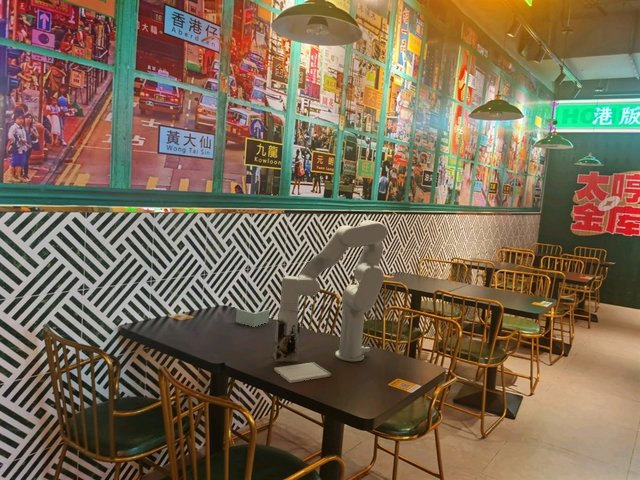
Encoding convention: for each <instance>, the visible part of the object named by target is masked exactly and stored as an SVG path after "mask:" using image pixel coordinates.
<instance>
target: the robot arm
mask: <svg viewBox="0 0 640 480" xmlns="http://www.w3.org/2000/svg"><path fill="white" fill-rule="evenodd" d="M387 236H388V228H387V227H386V225H385V224H384V223H382V222H379V221H376V220H370V219H366V220H363V221H362V222H360V224H359V225H358V226H351V225H350V226H349V225H341V226H339V227H338V228H337V229H336V230H335V231H334V232H333V234H332V235H331V237H330V238H329V239H328V241H327V242H326V244H325V245H324V246H323V248H322V249H321V250H320V252H319V253H317V254H316V255H314V257H313V258H312V259H310V261H309V262H307V264H306V265H305V266H304V267H303V268H302V270H301V272H299V274H298V276H295V275H294V276H293V275H285V276H283V277H282V280H281V289H280V301H279V302H280V303H279V311H278V314H277V320H279V321H282V322H283V323H285V330H284V335H286V336H288V339H289V342H288V347H287V351H288V352H290V351H294V350H295V342H296V340H297V337H298V332H297V329H298V322H299V315H298V314H299V313H298V311H299V306H300V305H299V302H300V296H305V297H307V296H308V297H313V296H316V295H317V294H318V293H319V292H320V289H321V284H320V283H319V281H318V280H317V279H318V277H319V276H320V275H321V274H322V273H323V272H324V271H325V270H327V269H329V268H332V267H334V266H335V265H337V264H338V263H339V261H340V260H341V259H342V257H343V256H344V254H345V253H346V252H347V251H348V249H350V248H351V249H353V248H361V247H363V248H362V251H361V255H360V257H359V259H358V261H357V264H356V266H355V269H354V271H353V277H354V279H355V280H356V281H357V282H358V283H359V284H350V285H349V284H348V286H346V287H345V288H344V289H343V291H342V293H341V294H342V296H341V302H342V304H341V305H342V308H341V309H342V314H341V323H340V324H341V325H340V338H339V347H338V348H339V349H338V350H336V351H335V354H334V355H335V357H336V358H337V359H339V360H342V361H345V362H346V361H347V362H360V361H363V360H364V359H365V355H364V353H366V352H370V350H371V348H370V346H364V345H363V344H362V343H363V336H364V335H363V334H364V323H365V313H368V312H370V311H371V309H372V308H373V307H374V306H375V304H376V301H377V298H378V296H379V294H380V291H381V289H382V286H383V284H384V279H385V274H384V271H383V270H382V268H381V267H380V266H379V265H380V261H381V259H382V256H383V252H384V244H383V241H384V240H386V238H387ZM291 331H293V333H294V334H291ZM291 336H293V337H292V338H291Z"/></svg>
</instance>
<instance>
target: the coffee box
mask: <svg viewBox="0 0 640 480" xmlns="http://www.w3.org/2000/svg"><path fill="white" fill-rule="evenodd" d="M275 324H276V325H275V332H274V333H275V334H274V346H273V356H272V357H273V359H274V361H275V362H277V363H278V362H279V363H280V362H284V361H285V362H298V357H299V356H298V353H299V342H300V329H301V323H300V322H299V321H298V329H297V332H298V337H297V340H296V342H295V350H294V351H290V352H288V351H287V347H288V342H289V339H288V336H286V335H284V330H285V323H283V322H282V321H279V320H278V319H276V323H275ZM291 334H294V333H293V331H291ZM292 337H293V336H291V338H292ZM285 362H284V363H285Z"/></svg>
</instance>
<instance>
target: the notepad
mask: <svg viewBox="0 0 640 480" xmlns="http://www.w3.org/2000/svg"><path fill="white" fill-rule="evenodd" d="M273 372H275V373H277V374H278V375H279V374H280V375H279V376H281V377H282V378H283V379H284V380H285V381H287V382H288V383H290V384H292V383H297V382H303V381H304V380H305V381H310V379H311V380H316V379H323V378H327V377H332V373H331V372H330V371H329V370H327V369H326V368H324V367H322V366H320V365H319V364H318V363H316V362H315V361H311V362H306V363H299V364H292V365H286V366H285V365H283V366H279V367H273Z"/></svg>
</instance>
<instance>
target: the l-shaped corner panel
mask: <svg viewBox="0 0 640 480" xmlns="http://www.w3.org/2000/svg"><path fill="white" fill-rule="evenodd" d="M235 314H236V316H235V317H236V318H235V323H238V324H240V325H244V324H245V326H247V325H249V326H248V327H251V326H252V328H255V326H256V327H259V326H262V325H261V324H263V325H265V324H264V323H266V324H269V321H270V320H269V319H270V309H266V310H262V311H258V312H252V311H248V310H245V309H244V310H243V309H240V308H236V313H235ZM258 325H259V326H258Z"/></svg>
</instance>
